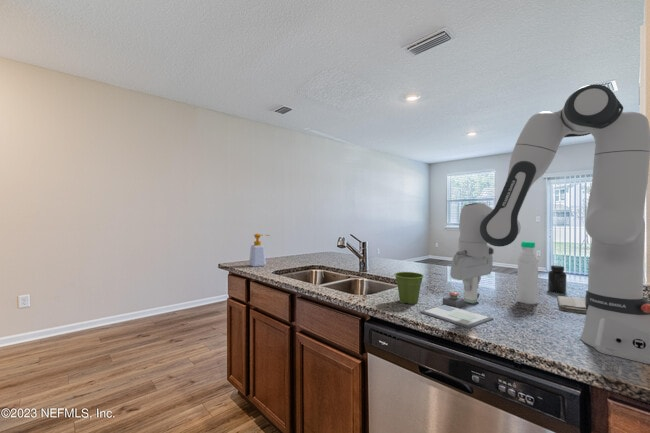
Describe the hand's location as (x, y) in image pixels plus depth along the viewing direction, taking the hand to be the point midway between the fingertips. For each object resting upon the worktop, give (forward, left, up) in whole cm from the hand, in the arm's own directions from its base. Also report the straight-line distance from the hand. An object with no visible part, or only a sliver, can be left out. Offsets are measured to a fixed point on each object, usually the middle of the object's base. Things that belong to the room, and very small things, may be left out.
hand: (471, 289), depth 106 cm
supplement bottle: (-2, -70, -10) cm, 70 cm away
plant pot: (+26, +1, -10) cm, 28 cm away
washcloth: (-16, -48, -11) cm, 51 cm away
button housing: (+13, -10, -10) cm, 19 cm away
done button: (+13, -10, -9) cm, 19 cm away
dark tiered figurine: (+11, -20, -10) cm, 25 cm away
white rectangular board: (+5, +1, -10) cm, 11 cm away
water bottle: (-2, -39, -10) cm, 40 cm away
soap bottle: (+143, +17, -10) cm, 144 cm away
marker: (0, 0, -4) cm, 4 cm away
